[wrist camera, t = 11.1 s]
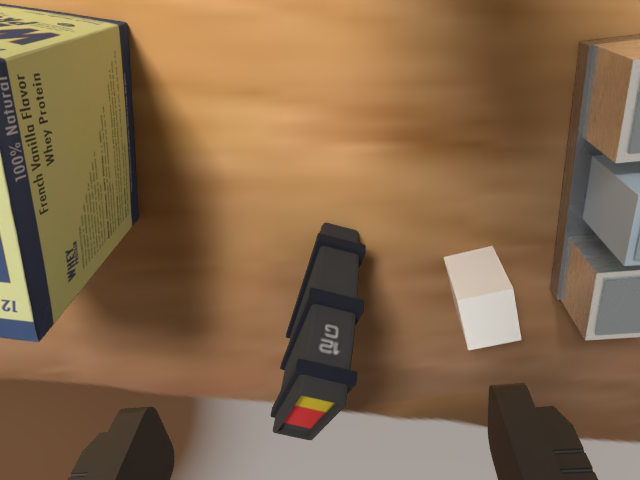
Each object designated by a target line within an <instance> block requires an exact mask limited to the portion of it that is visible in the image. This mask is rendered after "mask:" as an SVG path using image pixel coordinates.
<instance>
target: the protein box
mask: <svg viewBox="0 0 640 480" xmlns="http://www.w3.org/2000/svg"><path fill="white" fill-rule="evenodd" d="M137 220H138V202H137V182H136V161H135V144H134V127H133V109H132V91H131V74H130V57H129V40H128V26H127V23H126V22H121V21H114V20H107V19H101V18H94V17H88V16H81V15H75V14H69V13H62V12H55V11H48V10H41V9H35V8H27V7H20V6H13V5H6V4H0V337H1V338H7V339H13V340H21V341H28V342H40V340H41V339H42V338H43V337H44V336H45V334H46V333H47V332H48V330H49V329H50V328H51V327H52V326H53V324H54V323H55V322H56V321H57V320H58V318H59V317H60V316H61V315H62V313H63V312H64V311H65V310H66V308H67V307H68V306H69V305H70V303H71V302H72V301H73V300H74V298H75V297H76V296H77V295H78V293H79V292H80V291H81V290H82V288H83V287H84V286H85V285H86V283H87V282H88V281H89V280H90V278H91V277H92V276H93V275H94V273H95V272H96V271H97V270H98V268H99V267H100V266H101V265H102V263H103V262H104V261H105V260H106V258H107V257H108V256H109V255H110V254H111V252H112V251H113V250H114V248H115V247H116V246H117V245H118V243H119V242H120V241H121V240H122V238H123V237H124V236H125V235H126V233H127V232H128V231H129V230H130V229H131V227H132V226H133V225H134V224H135V223H136V222H137Z"/></svg>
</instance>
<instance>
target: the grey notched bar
mask: <svg viewBox="0 0 640 480" xmlns="http://www.w3.org/2000/svg"><path fill="white" fill-rule="evenodd" d="M597 155H606V156H607V157H608V158H609V159H611V160H612V161H613V162H614V163H624V162H634V161H640V34H637V35H629V36H621V37H613V38H605V39H597V40H589V41H582V42H580V43H579V52H578V60H577V69H576V77H575V85H574V94H573V102H572V111H571V119H570V127H569V136H568V144H567V153H566V161H565V170H564V178H563V186H562V195H561V203H560V212H559V220H558V228H557V237H556V245H555V254H554V262H553V270H552V279H551V287H550V290H551V291H552V293H553V295H554V296H555V298H556V300H561V302H562V303H563V305H564V306H565V308H566V310H567V311H568V313H569V315H570V316H571V318H572V320H573V321H574V323H575V325H576V326H577V328H578V330H579V331H580V333H581V335H582V336H583V338H584V339H585V340H600V339H616V338H632V337H640V265H632V266H624V265H623V264H622V263H621V262H620V261H619V260H618V258H617V257H616V256H615V255H614V254H613V253H612V252H611V250H610V249H609V248H608V247H607V246H606V245H605V244H604V242H603V241H602V240H601V239H600V238H599V237H598V236H597V234H596V233H595V232H594V231H593V230H592V229H591V228H590V226H589V225H588V224H587V223H586V222H585V221H584V220H583V215H584V208H585V201H586V194H587V187H588V181H589V174H590V167H591V160H592V156H597Z"/></svg>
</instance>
